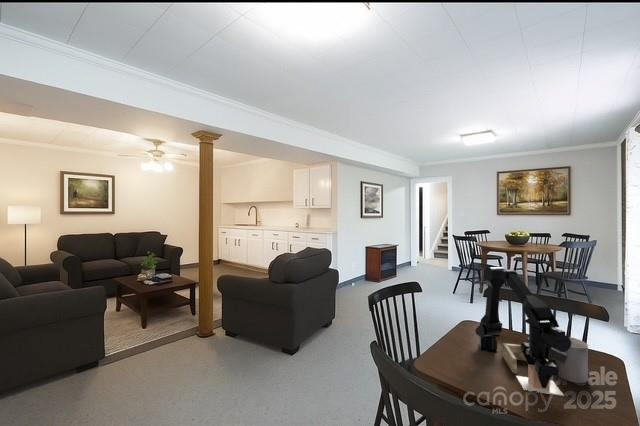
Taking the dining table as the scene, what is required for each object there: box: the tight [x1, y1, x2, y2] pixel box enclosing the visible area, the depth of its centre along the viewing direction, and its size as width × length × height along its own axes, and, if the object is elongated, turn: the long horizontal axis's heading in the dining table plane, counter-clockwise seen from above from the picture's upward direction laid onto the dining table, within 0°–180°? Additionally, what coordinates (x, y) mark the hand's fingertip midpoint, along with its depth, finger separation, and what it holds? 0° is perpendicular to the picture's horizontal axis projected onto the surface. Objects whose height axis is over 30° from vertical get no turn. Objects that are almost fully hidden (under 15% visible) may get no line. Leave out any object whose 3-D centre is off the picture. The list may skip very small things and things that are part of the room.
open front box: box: [502, 342, 549, 374], centre depth 123 cm, size 12×14×6 cm
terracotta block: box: [527, 363, 551, 390], centre depth 110 cm, size 5×5×6 cm
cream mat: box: [515, 375, 565, 397], centre depth 110 cm, size 12×9×1 cm
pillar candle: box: [555, 336, 589, 384], centre depth 115 cm, size 10×10×15 cm
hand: (538, 380), depth 110 cm, fingers open, 9 cm apart
